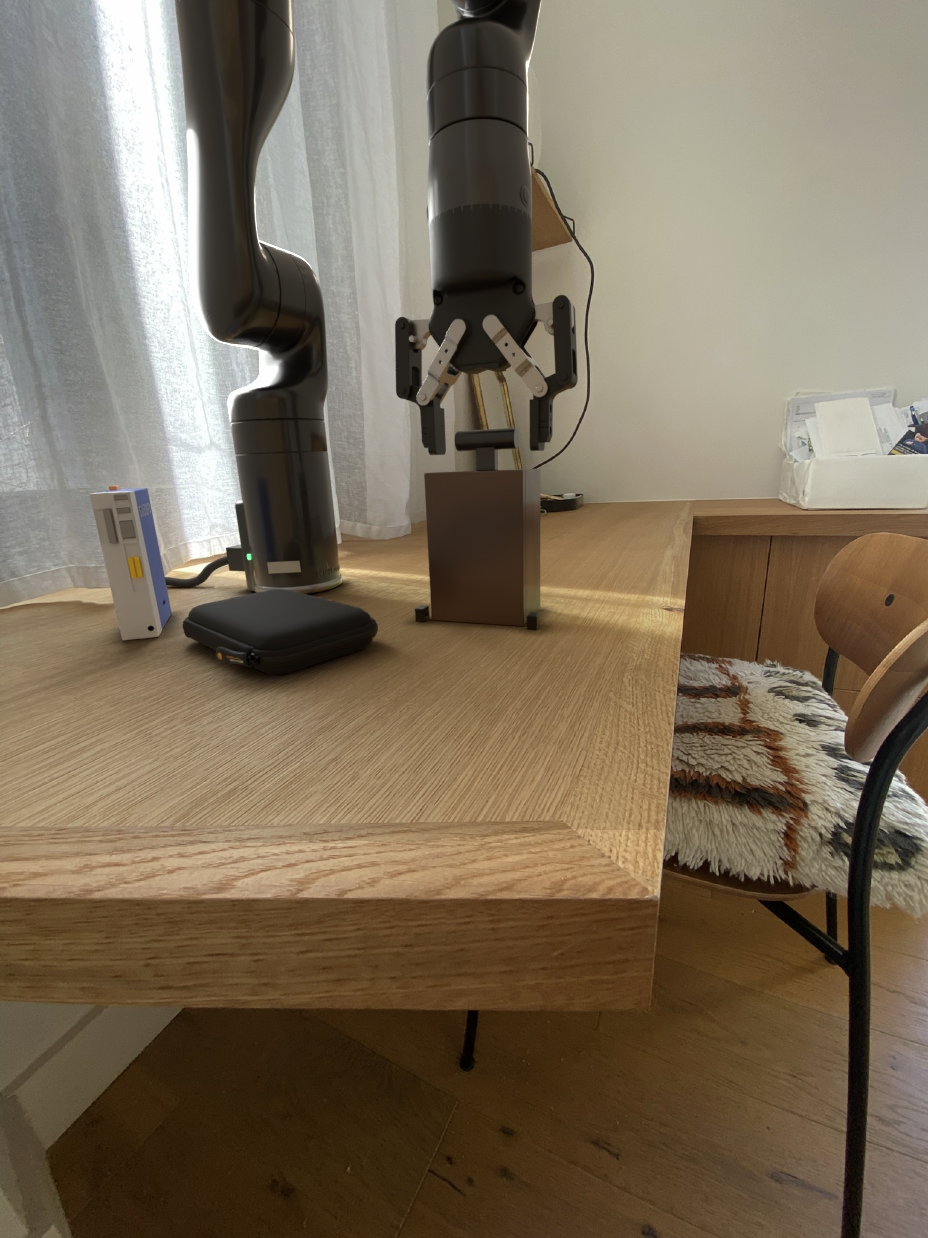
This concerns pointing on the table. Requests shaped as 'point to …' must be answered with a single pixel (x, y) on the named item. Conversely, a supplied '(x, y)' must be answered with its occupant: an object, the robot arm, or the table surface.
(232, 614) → the carrying case
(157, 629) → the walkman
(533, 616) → the dark bar
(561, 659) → the table surface
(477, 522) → the brown box with handle
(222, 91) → the robot arm
